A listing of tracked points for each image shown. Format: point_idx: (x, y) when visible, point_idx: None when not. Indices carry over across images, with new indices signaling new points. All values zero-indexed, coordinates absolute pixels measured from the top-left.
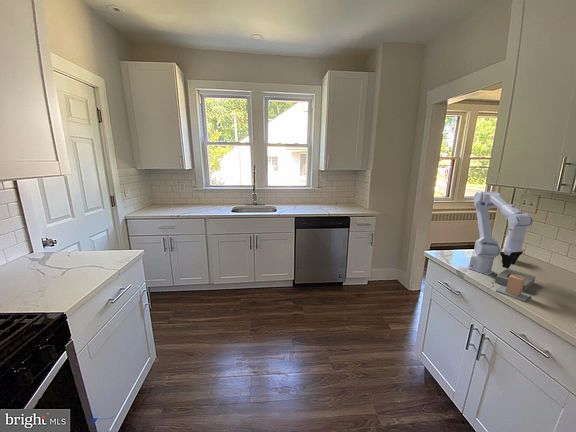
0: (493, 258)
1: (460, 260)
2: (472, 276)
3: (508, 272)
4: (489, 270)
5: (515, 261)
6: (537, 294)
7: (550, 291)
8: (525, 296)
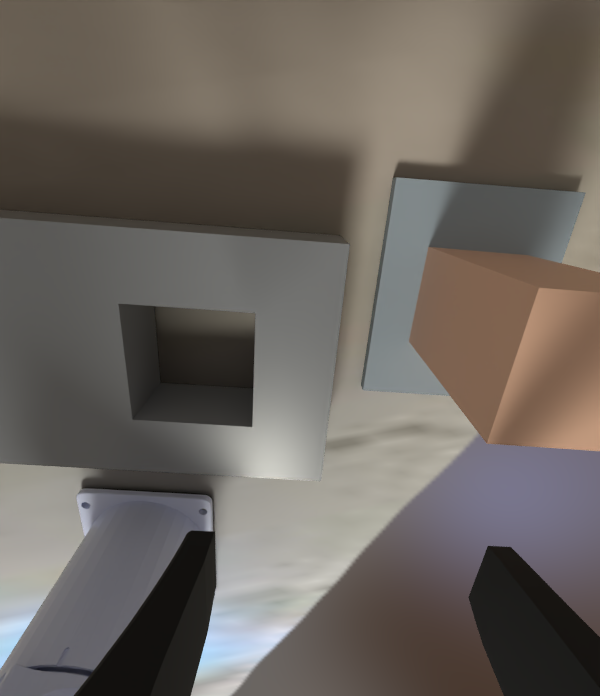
0: (73, 665)
1: None
2: (340, 547)
3: (100, 433)
4: (159, 525)
5: (190, 598)
6: (274, 131)
7: (42, 32)
8: (471, 206)
